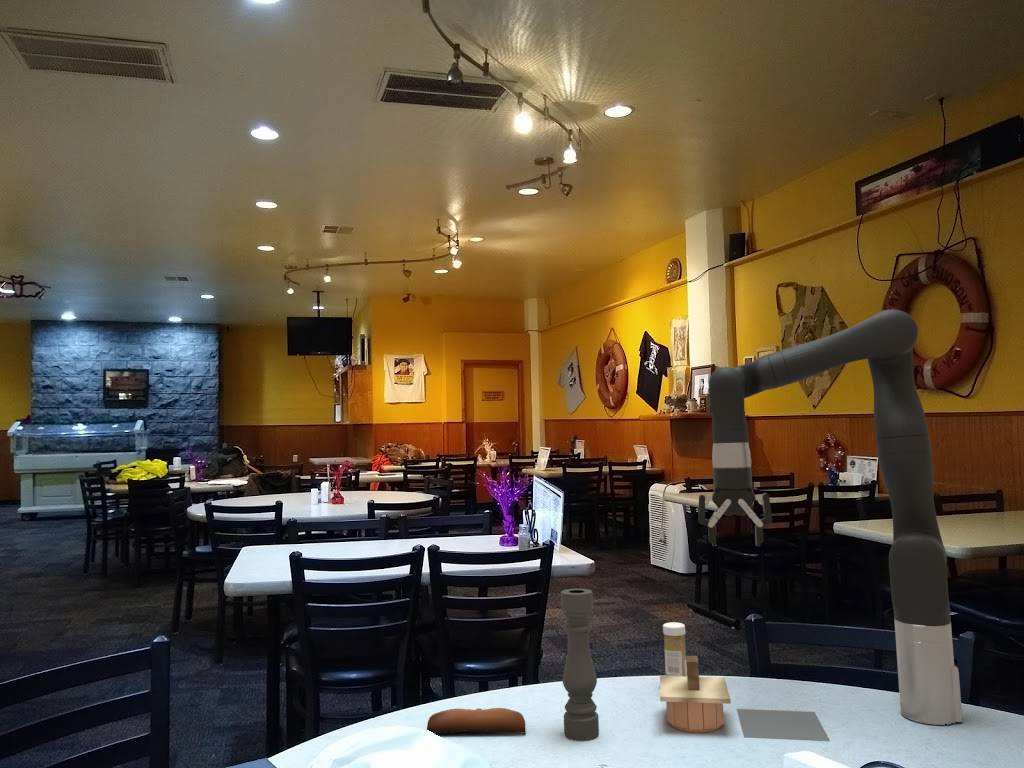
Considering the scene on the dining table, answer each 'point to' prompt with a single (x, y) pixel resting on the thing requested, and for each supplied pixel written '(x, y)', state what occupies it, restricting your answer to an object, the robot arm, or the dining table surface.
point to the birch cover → (693, 686)
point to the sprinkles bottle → (675, 649)
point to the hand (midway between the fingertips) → (735, 545)
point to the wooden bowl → (695, 716)
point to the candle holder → (579, 667)
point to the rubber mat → (781, 725)
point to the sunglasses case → (476, 721)
